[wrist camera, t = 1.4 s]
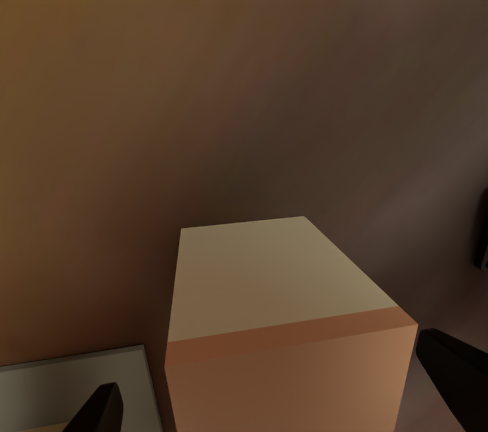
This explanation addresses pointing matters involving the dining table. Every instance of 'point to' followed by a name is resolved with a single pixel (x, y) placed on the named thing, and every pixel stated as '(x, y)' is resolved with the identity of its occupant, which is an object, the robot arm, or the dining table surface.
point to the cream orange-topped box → (281, 334)
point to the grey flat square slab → (76, 390)
